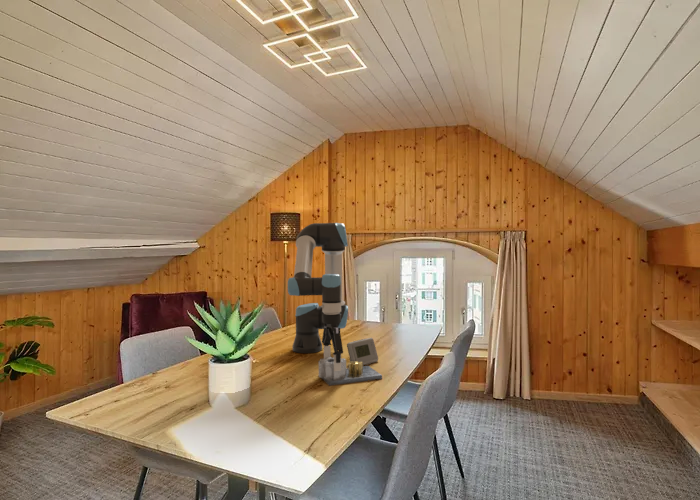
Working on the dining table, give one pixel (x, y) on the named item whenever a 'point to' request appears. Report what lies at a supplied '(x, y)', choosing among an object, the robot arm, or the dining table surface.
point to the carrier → (355, 374)
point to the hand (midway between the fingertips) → (332, 366)
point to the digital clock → (363, 351)
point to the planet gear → (331, 369)
